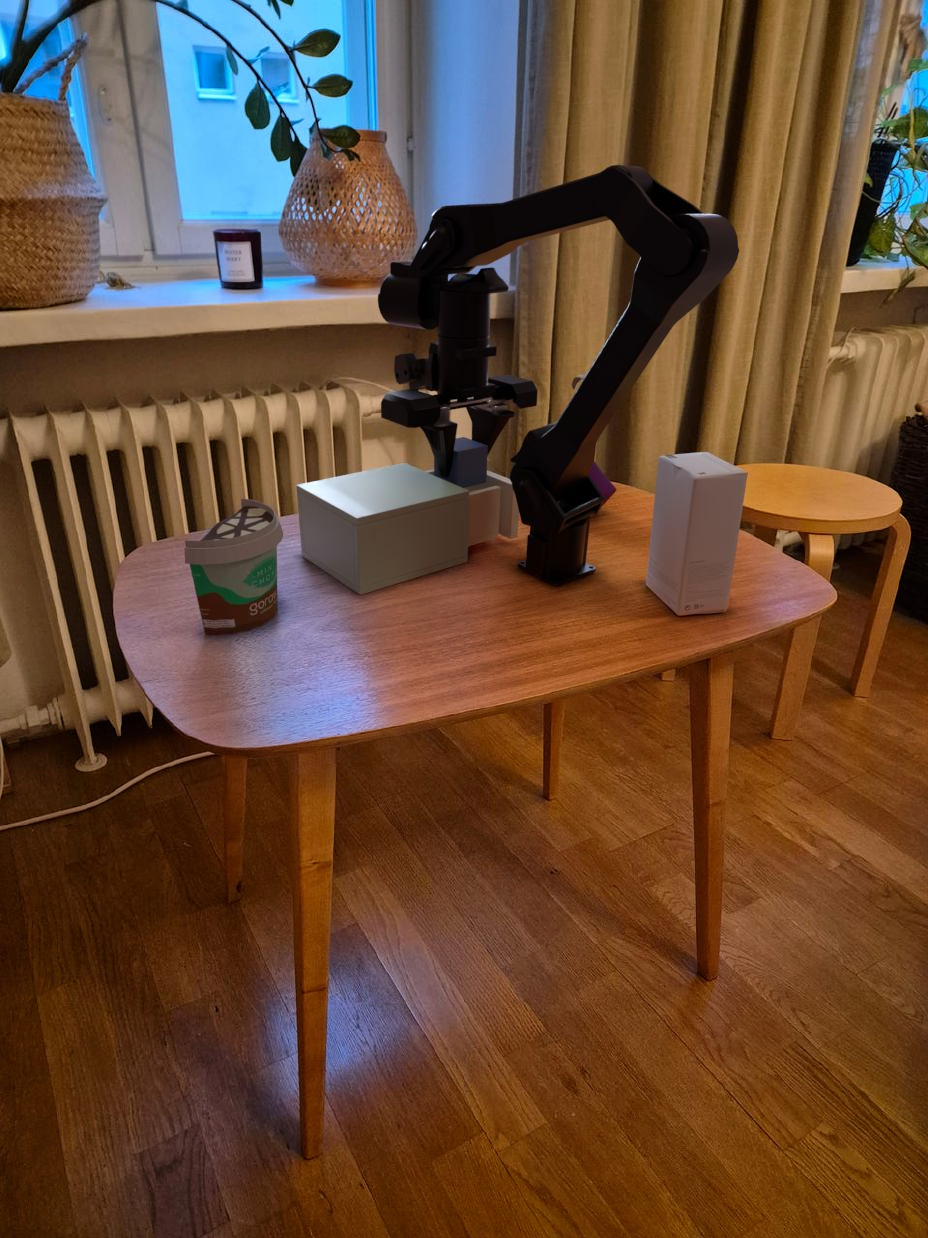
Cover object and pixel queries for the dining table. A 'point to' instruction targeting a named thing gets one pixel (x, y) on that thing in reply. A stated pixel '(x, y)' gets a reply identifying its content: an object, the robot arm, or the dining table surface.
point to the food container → (237, 570)
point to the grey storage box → (383, 525)
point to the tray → (491, 509)
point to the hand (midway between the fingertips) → (460, 473)
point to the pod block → (467, 463)
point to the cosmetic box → (695, 531)
